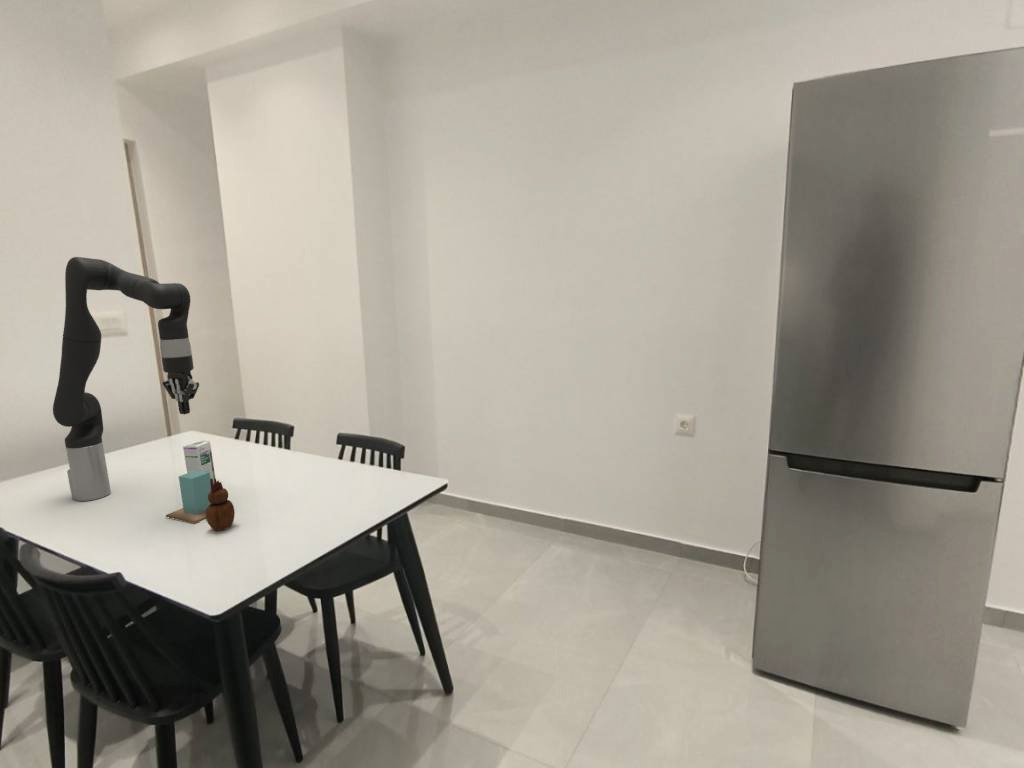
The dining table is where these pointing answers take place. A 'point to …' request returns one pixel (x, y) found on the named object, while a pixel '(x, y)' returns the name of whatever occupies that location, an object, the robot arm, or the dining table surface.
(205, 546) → the dining table surface
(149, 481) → the dining table surface
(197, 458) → the syrup box
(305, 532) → the dining table surface
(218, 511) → the wooden figurine
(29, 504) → the dining table surface
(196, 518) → the brown base plate
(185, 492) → the tall teal pillar
